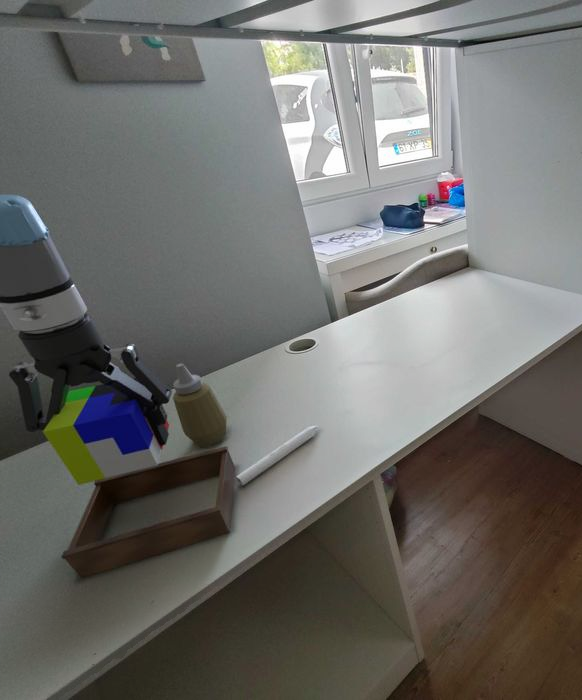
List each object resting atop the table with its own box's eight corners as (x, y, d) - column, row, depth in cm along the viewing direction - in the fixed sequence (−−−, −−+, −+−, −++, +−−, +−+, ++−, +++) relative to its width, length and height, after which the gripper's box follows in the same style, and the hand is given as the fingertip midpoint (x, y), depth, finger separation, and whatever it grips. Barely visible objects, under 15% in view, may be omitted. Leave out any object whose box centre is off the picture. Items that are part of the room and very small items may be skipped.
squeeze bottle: (180, 447, 91) (144, 374, 81) (208, 422, 97) (178, 352, 88) (213, 453, 89) (180, 379, 80) (240, 427, 95) (212, 356, 86)
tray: (79, 579, 66) (61, 556, 64) (109, 501, 79) (95, 479, 76) (230, 532, 72) (219, 510, 70) (236, 467, 85) (227, 445, 82)
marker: (316, 428, 94) (314, 419, 93) (322, 431, 93) (320, 423, 92) (237, 482, 82) (233, 473, 80) (244, 487, 81) (240, 478, 79)
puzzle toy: (157, 465, 67) (130, 413, 62) (78, 485, 64) (42, 431, 59) (169, 425, 75) (145, 376, 70) (99, 440, 72) (69, 390, 67)
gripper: (-78, 353, 51) (25, 487, 63) (147, 317, 58) (203, 444, 69) (-41, 325, 57) (46, 452, 69) (158, 296, 64) (208, 416, 75)
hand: (125, 448), depth 69 cm, fingers closed on puzzle toy, 10 cm apart
